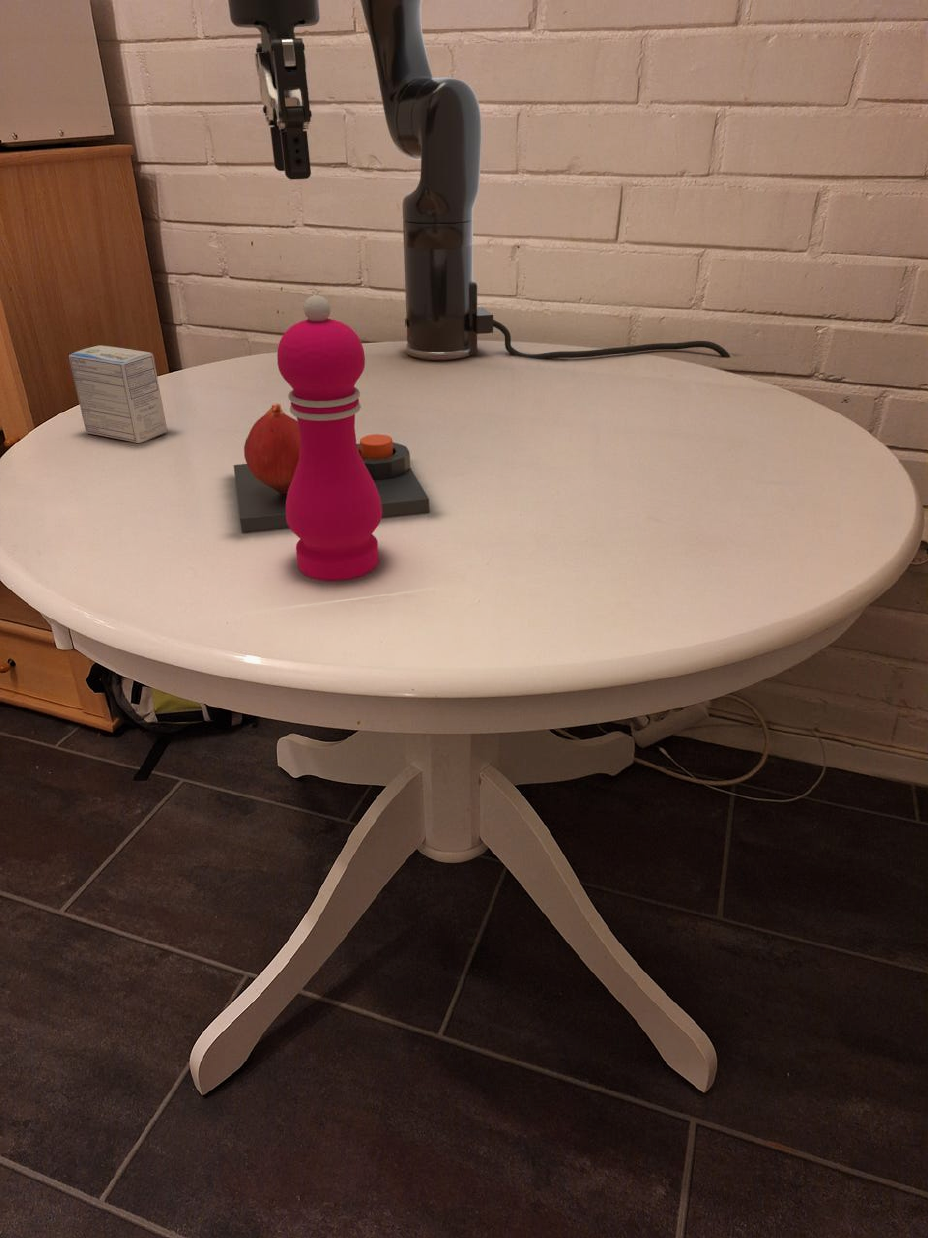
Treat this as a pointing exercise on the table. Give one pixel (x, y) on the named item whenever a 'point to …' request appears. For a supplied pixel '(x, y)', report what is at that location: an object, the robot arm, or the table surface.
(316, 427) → the pepper mill
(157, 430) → the medicine box
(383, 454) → the button
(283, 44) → the robot arm
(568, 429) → the table surface
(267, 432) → the onion
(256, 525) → the scale
